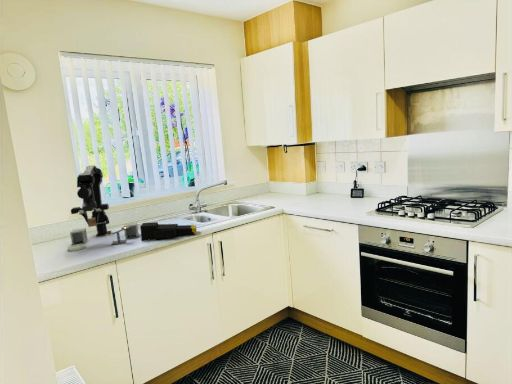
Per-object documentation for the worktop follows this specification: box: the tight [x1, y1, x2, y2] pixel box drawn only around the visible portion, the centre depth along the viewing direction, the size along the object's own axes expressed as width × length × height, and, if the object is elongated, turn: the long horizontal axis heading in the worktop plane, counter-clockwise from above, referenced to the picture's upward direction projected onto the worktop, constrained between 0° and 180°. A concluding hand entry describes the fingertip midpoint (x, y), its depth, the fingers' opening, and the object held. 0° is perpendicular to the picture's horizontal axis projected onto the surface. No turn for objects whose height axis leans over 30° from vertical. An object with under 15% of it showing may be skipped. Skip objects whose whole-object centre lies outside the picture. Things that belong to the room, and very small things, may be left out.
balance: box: [104, 226, 130, 246], centre depth 201 cm, size 5×13×8 cm, turn 104°
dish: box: [66, 243, 87, 252], centre depth 197 cm, size 9×9×1 cm
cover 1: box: [69, 227, 89, 246], centre depth 209 cm, size 7×7×7 cm
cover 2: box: [123, 222, 140, 240], centre depth 213 cm, size 7×7×7 cm
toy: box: [139, 221, 197, 242], centre depth 207 cm, size 16×8×30 cm
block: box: [87, 217, 97, 228], centre depth 203 cm, size 4×4×4 cm
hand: (92, 223), depth 203 cm, fingers closed on block, 4 cm apart
